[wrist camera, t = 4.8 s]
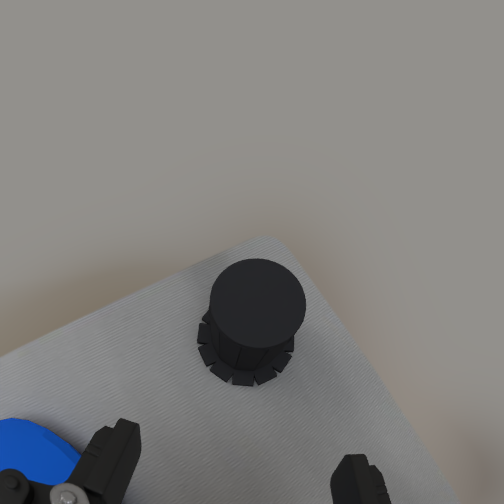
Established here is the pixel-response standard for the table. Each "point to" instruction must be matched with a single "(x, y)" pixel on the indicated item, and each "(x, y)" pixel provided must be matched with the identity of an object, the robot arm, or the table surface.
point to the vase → (35, 452)
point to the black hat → (251, 321)
